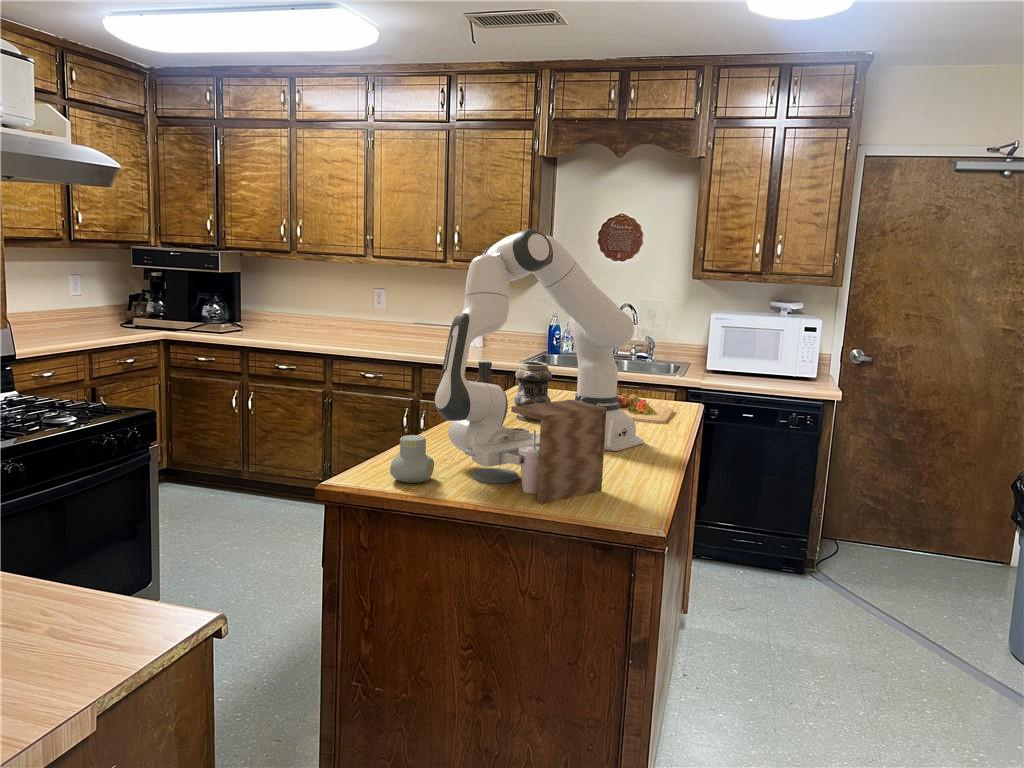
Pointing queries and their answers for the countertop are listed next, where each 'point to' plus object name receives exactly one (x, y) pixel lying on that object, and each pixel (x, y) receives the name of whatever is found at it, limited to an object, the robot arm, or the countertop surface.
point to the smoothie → (530, 466)
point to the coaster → (495, 475)
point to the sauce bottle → (484, 372)
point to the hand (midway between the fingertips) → (534, 458)
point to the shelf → (568, 448)
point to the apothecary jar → (532, 385)
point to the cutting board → (645, 410)
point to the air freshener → (412, 461)
